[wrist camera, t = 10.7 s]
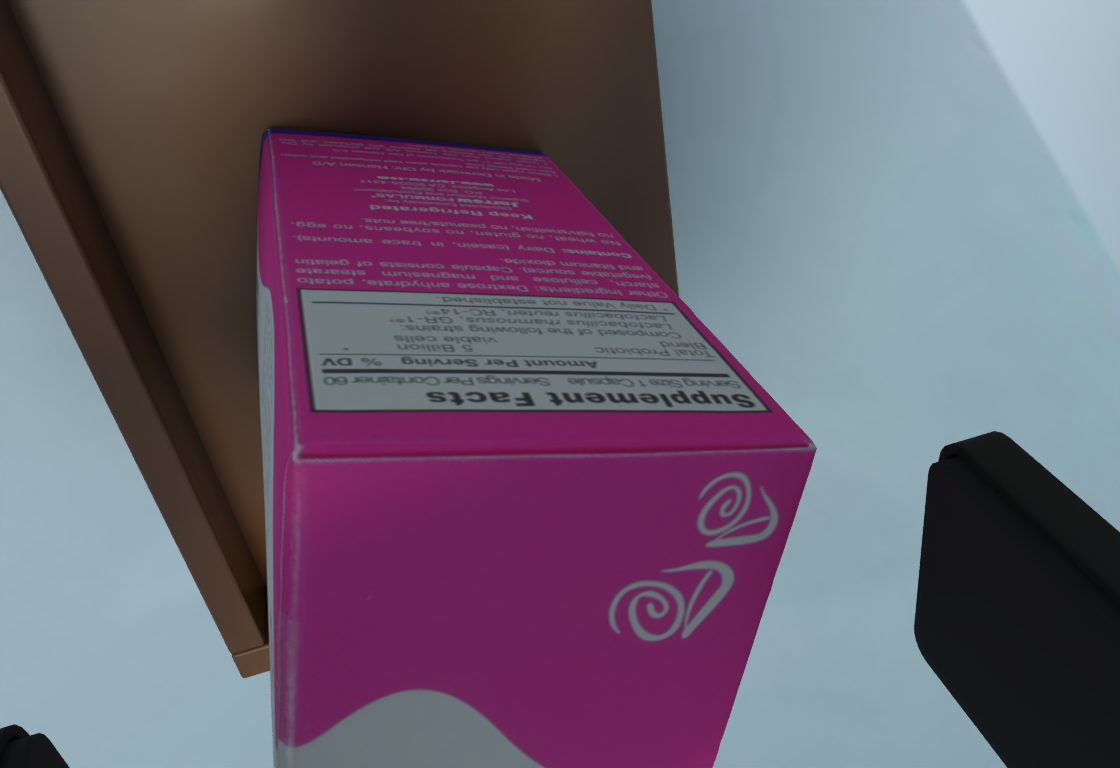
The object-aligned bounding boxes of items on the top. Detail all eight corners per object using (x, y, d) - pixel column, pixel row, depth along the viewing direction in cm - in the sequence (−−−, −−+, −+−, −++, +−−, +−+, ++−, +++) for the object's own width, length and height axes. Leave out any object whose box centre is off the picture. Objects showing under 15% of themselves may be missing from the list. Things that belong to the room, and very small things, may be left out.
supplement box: (520, 389, 22) (710, 816, 13) (254, 386, 20) (243, 880, 11) (560, 144, 20) (839, 453, 10) (258, 116, 18) (247, 459, 8)
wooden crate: (527, -210, 23) (672, -229, 15) (607, 346, 32) (728, 532, 23) (20, -118, 22) (-136, -82, 13) (249, 443, 30) (242, 680, 22)
